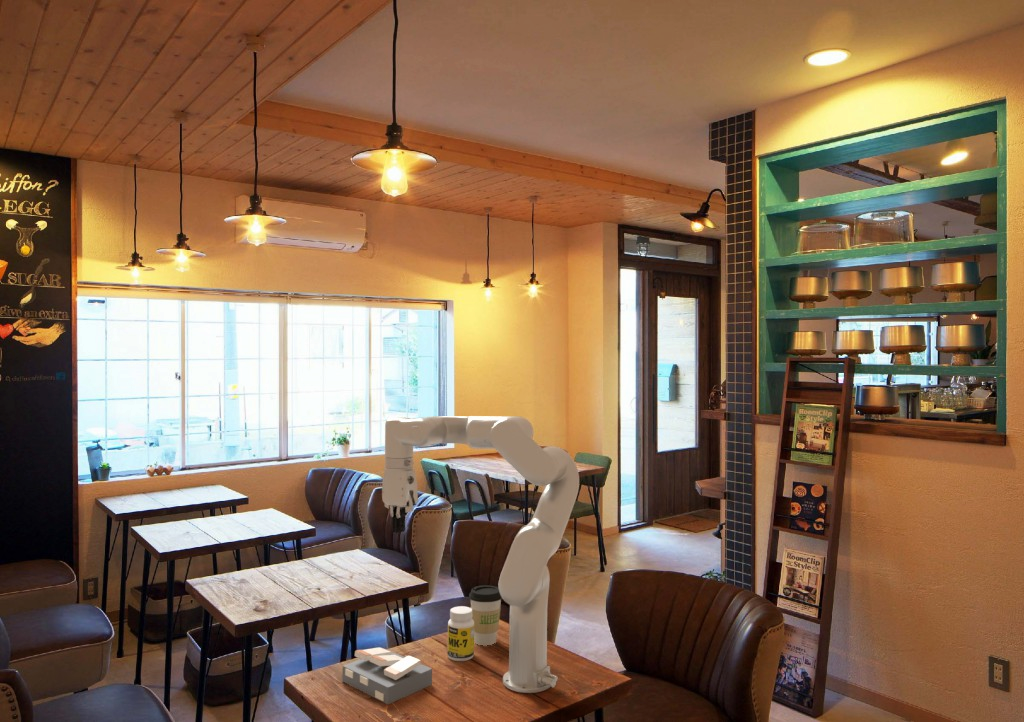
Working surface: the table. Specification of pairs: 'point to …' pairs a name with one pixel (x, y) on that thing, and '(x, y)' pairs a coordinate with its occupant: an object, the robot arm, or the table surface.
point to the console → (385, 680)
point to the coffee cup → (485, 613)
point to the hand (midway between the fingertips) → (398, 531)
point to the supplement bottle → (460, 634)
